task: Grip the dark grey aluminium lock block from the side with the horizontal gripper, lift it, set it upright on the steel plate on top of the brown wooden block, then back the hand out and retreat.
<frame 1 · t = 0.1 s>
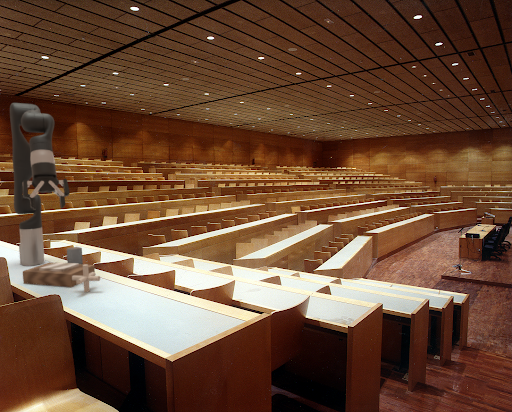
hand: (48, 208, 131), 31 cm above the table, tool tilted 20°, fingers open, 8 cm apart
lock block: (75, 270, 168), on the table
brown wooden block: (60, 280, 153), on the table
pipe connector: (86, 291, 139), on the table
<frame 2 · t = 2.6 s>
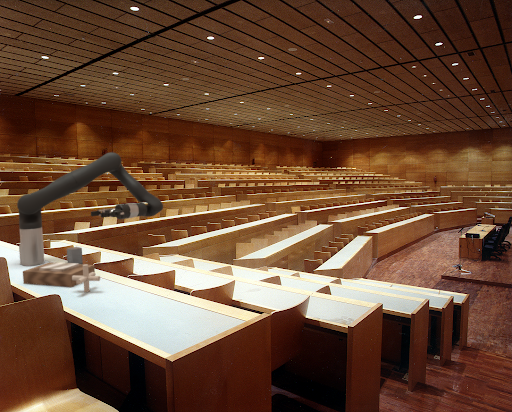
hand: (96, 214, 174), 24 cm above the table, tool horizontal, fingers open, 8 cm apart
nothing on the table moved.
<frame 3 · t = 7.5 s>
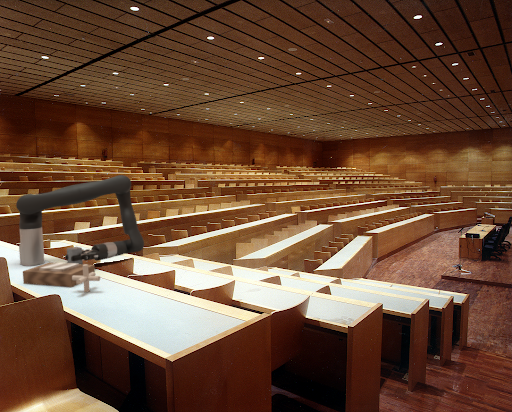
hand: (68, 258, 165), 6 cm above the table, tool horizontal, fingers closed on lock block, 4 cm apart
lock block: (75, 270, 168), on the table, touching gripper
everything else where it was.
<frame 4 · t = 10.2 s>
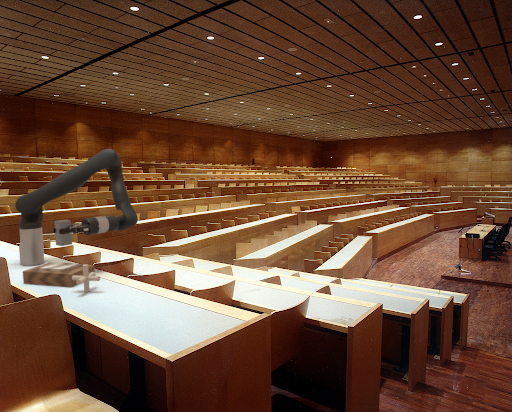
hand: (56, 231, 153), 20 cm above the table, tool horizontal, fingers closed on lock block, 4 cm apart
lock block: (64, 244, 156), point 14 cm above the table, touching gripper
everything else where it was.
when the fingers open (13 cm above the table, at t = 12.7 s): lock block stays where it is, resting on brown wooden block.
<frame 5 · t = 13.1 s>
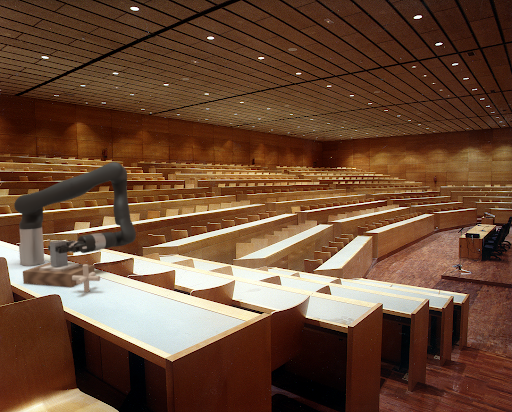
hand: (53, 249, 150), 13 cm above the table, tool horizontal, fingers open, 8 cm apart
lock block: (59, 265, 152), point 6 cm above the table, touching brown wooden block
everything else where it was.
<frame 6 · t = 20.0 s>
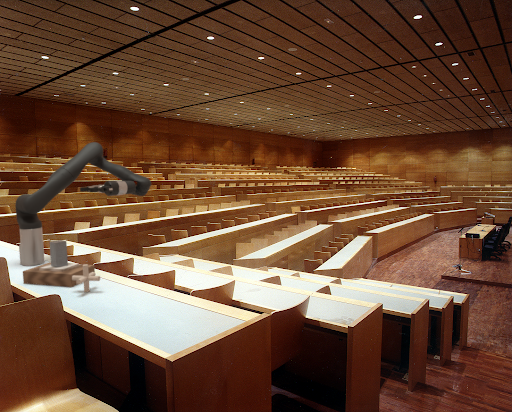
hand: (85, 189, 178), 35 cm above the table, tool horizontal, fingers open, 8 cm apart
nothing on the table moved.
at the end: lock block inside the target area on the brown wooden block (0.1 cm from its centre), point 6.0 cm above the brown wooden block's base; lock block tilted 0°; the gripper is holding nothing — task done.
